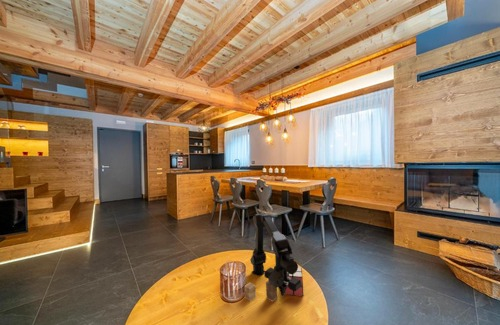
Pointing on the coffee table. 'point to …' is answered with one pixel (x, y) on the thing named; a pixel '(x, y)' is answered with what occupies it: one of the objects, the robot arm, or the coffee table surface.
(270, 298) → the walnut block
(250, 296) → the oak block
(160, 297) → the coffee table surface
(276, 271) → the robot arm
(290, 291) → the puzzle cube
